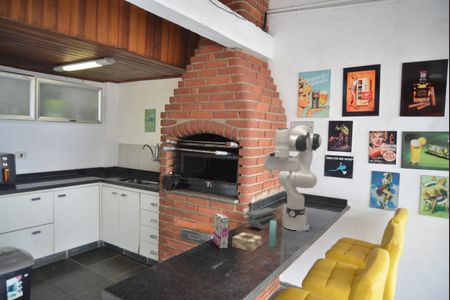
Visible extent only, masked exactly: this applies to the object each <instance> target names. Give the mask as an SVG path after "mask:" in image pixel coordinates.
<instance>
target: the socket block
mask: <svg viewBox="0 0 450 300" xmlns="http://www.w3.org/2000/svg"><path fill="white" fill-rule="evenodd" d="M262 240H263V236H261V235H256V234H252V233H250V232H249V233H247V232H240V233H239V234H235V236H232V237H231V247H232V248H236V249H239V250H243V251H247V252H251V253H252V252H253V251H255V250H257V249H258V248H260V247H261V246H262V245H263V244H262V243H263V242H262Z"/></svg>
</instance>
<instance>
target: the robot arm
mask: <svg viewBox="0 0 450 300" xmlns="http://www.w3.org/2000/svg"><path fill="white" fill-rule="evenodd" d="M310 131H311V130H310V128H309V127H308V126H307V125H305V124H299V125H296V126H294V127H293V128H292V129H291V130H290V128H287V127H281V128H280V127H279V128H276V131H275V134H274V135H275V136H274V149H273V151H271V152H268V153H266V155H265V157H266V158H264V161H263V165H262V167H263V168H262V169H263V170H266V171H268V172H269V174H270V179H274V176H275V175H274V174H273V173H272V172H273V171H277V172H279V173H278V175H277V181H278V182H279V184H280V185H281V186H282V187H283V188H284V191H285V193H286V198H287V199H286V200H287V201H286V202H287V204H286V205H287V206H286V208H285V212H286V213H284V215H283V221H282V224H283V226H284V227H285V228H287V229H291V230H303V229H305V227H306V225H307V224H308V216H307V215H306V207H305V195H304V194H302V193H300V192H299V191H298V190H297V188H300V189H313V188H315V186H316V185H317V183H318V178H317V175H316V174H315V173H313V171H312V170H311V166H312V162H313V156H314V154H313V151H314V152H316V151H317V150H318V149H319V148H320V147H321V144H322V137H321V135H320V133H310ZM290 152H298V153H297V156H296V155H290ZM284 227H283V228H284ZM285 228H284V229H285ZM287 229H286V230H287Z"/></svg>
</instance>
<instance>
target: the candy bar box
mask: <svg viewBox="0 0 450 300" xmlns="http://www.w3.org/2000/svg"><path fill="white" fill-rule="evenodd" d="M229 230H230V217H228V216H227V215H226V214H224V213H223V212H220V213H214V221H213V241H212V243H214V244H215V246H217V248H219V249H228V248H229Z"/></svg>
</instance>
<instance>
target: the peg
mask: <svg viewBox="0 0 450 300" xmlns="http://www.w3.org/2000/svg"><path fill="white" fill-rule="evenodd" d="M277 223H278V222H277V220H276V219H275V220H270V227H269V236H268V247H269V248H276V242H277V241H276V239H277Z"/></svg>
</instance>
